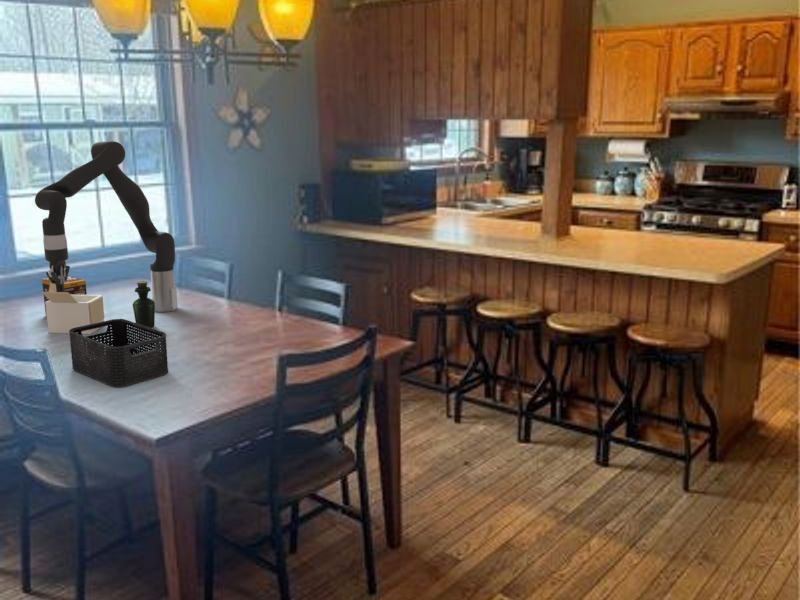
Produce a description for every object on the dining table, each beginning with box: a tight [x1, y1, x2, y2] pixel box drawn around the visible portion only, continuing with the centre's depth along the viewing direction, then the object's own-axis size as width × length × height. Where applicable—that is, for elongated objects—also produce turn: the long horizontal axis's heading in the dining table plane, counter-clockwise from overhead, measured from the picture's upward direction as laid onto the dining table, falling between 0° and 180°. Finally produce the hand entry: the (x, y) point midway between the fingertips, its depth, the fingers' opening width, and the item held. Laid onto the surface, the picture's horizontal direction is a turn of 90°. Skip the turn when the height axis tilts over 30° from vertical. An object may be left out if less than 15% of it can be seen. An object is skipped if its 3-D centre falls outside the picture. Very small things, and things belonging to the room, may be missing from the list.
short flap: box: [47, 282, 57, 299], centre depth 269 cm, size 9×6×1 cm
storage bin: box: [68, 318, 169, 388], centre depth 227 cm, size 29×19×13 cm
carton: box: [44, 294, 105, 335], centre depth 272 cm, size 17×13×12 cm
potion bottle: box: [132, 280, 156, 329], centre depth 274 cm, size 8×8×18 cm
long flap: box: [41, 291, 78, 303], centre depth 260 cm, size 10×9×1 cm
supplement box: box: [41, 275, 88, 317], centre depth 288 cm, size 10×15×16 cm
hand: (60, 293), depth 258 cm, fingers closed
